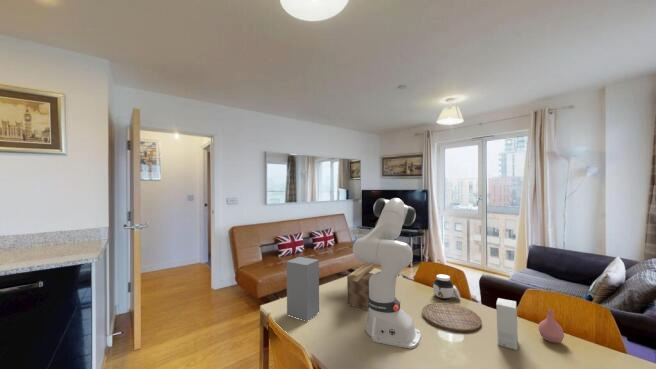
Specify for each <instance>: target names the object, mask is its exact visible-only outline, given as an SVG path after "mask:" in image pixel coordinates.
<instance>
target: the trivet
mask: <svg viewBox="0 0 656 369" xmlns="http://www.w3.org/2000/svg"><path fill="white" fill-rule="evenodd" d="M421 311H422V317H423V319H424V320H425V321H426V322H427V323H428V324H430V325H431V326H434V327H436V328H438V329H440V330H443V331H447V332H452V333H457V334H460V333H461V334H468V333H469V334H470V333H475V332H477V331H479V330H480V329H481V328H482V322H483V321H482V319H481V317H480V316H479V314H478V313H476V312H475V311H473V310H471V309H469V308H467V307H464V306H461V305H458V304H454V303H446V302H434V303H428V304H426V305H424V306H423V307H422V310H421Z"/></svg>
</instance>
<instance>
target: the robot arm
mask: <svg viewBox="0 0 656 369" xmlns="http://www.w3.org/2000/svg"><path fill="white" fill-rule="evenodd" d="M372 208H373V214H374V216H375V217H377V218H378V219H377V220H376V222H375V223H374V226H375V227H374V228H370V229H366V228H365V229H364V228H360V227H356V228H354V229H353V231H352V234H353V235H354V236H355V237H356V238H357V239H356V240H355V241H354V243H353V246H352V254H353V256H354V258H355V259H356V261H360V262H362V263H365V264H366V263H369V264H373V265H377V266H381V271H378V272H375V273H373V275H372V276H371V277H370V279H369V296H368V309H369V310H368V314H367V315H368V316H367V321H366V326H365V332H366V334H367V335H368V336H370V338H371V340H372V342H374V343H378V344H379V343H380V344H384V345H388V346H394V347H400V348H405V349H410V350H411V349H414V348H417V346H419V344H420V342H421V339H422V334H421V331H420V330H419V329H418V328H416V326H415V322H414V319H413V318H412V317H411V316H410V315H409V314H408V313H407V312H405V311H404V310H403V309H402V308H401V302H402V301H401V299H399V300H398V299H397V297H396V288H397V287H396V283H397V279H398V276H399V275H400V273H401V272H402V271H403V270H404V269H406V268H408V267H409V265H411V263H412V261H413V257H414V256H413V255H414V254H413V250H412V248H411V246H410V244H409V243H406V242H404V241H401V240H397V238H399V236H400V234H401V232H402V228H403V226H406V227H408V226H411V225H412V224H413V223H414V222H415V220H416V218H417V217H416V216H417V213H416V209H415V208H414V207H413V206H411V205H407V204H405V203H404V201H403V200H402V199H400V198H398V197H393V198H391V199H386V198H381V197H380V198H377V200H376V201H375V203H374V204H373V207H372Z"/></svg>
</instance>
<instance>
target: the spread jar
mask: <svg viewBox="0 0 656 369" xmlns="http://www.w3.org/2000/svg"><path fill="white" fill-rule="evenodd" d="M432 288H433V290H432V291H433V294H434V295H435V297H436V298H437V299H439V300H443V301H449V300H451V299H452V298H453V297H455V299H456V300H458V299H460V298H461V294H460V291H459V290H458V288H457V286H456V285H454V284H453V282H452V281H451V276H450V275H447V274H441V273H439V274H437V275H436V278H435V279H434V281H433V285H432Z"/></svg>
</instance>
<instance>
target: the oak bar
mask: <svg viewBox="0 0 656 369" xmlns="http://www.w3.org/2000/svg"><path fill="white" fill-rule="evenodd" d="M373 270H374V264H369V263H365V264H363V265H361V266H360V267H358V268H357V269H355V270H354V271H352V272H350V273H349V274H350V281H355V282H357V281H359V280H360V279H361V278H363V277H364V276H365V275H367V274H368V273H372V271H373Z"/></svg>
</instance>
